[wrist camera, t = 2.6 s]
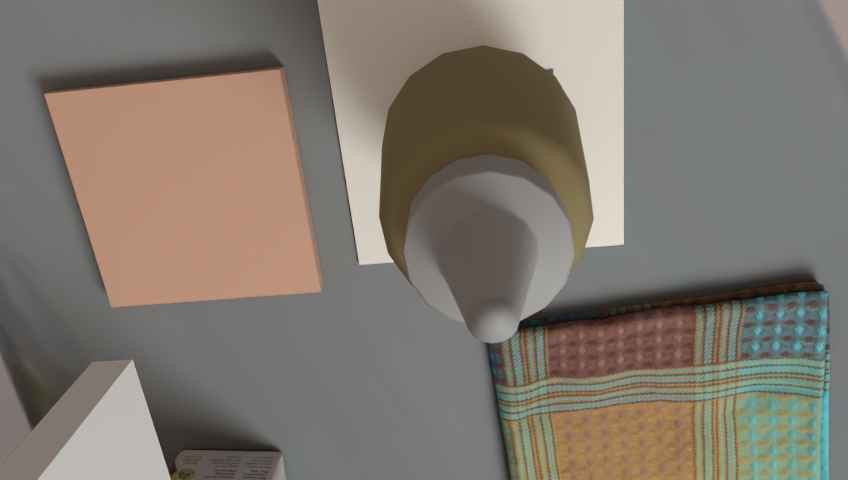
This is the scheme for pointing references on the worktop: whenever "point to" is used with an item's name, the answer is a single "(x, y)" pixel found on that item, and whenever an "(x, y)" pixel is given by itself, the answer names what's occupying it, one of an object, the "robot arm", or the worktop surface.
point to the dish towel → (671, 389)
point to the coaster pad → (191, 186)
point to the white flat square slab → (460, 29)
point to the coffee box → (228, 465)
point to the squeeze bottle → (484, 188)
